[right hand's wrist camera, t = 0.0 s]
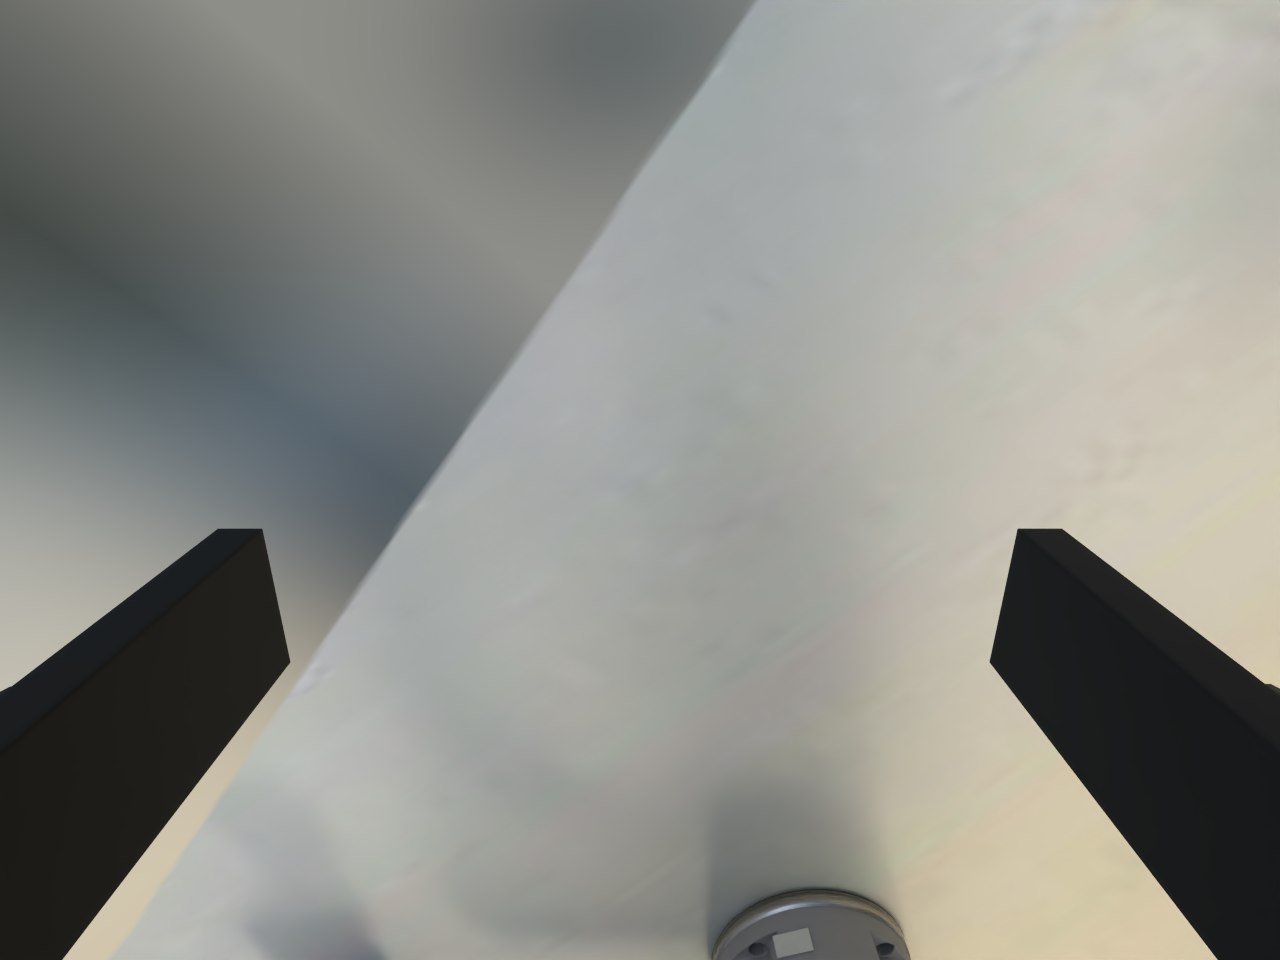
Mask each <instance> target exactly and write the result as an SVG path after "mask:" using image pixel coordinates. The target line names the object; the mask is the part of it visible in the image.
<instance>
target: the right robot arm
mask: <svg viewBox="0 0 1280 960" xmlns="http://www.w3.org/2000/svg"><path fill="white" fill-rule="evenodd" d="M289 663H290V658H289V653H288V649H287V644H286V639H285V635H284V630H283V625H282V620H281V616H280V611H279V606H278V601H277V597H276V592H275V587H274V582H273V578H272V573H271V568H270V564H269V559H268V554H267V549H266V544H265V540H264V535H263V530H262V529H217V530H216V531H215V532H213V533H212V534H211V535H209V536H208V537H207V538H205V539H204V540H203V541H201V542H200V543H199V544H198V545H196V546H195V547H194V548H192V549H191V550H190V551H188V552H187V553H186V554H184V555H183V556H182V557H181V558H179V559H178V560H177V561H175V562H174V563H173V564H171V565H170V566H169V567H168V568H166V569H165V570H164V571H162V572H161V573H160V574H158V575H157V576H156V577H154V578H153V579H152V580H150V581H149V582H148V583H147V584H145V585H144V586H143V587H141V588H140V589H139V590H137V591H136V592H135V593H133V594H132V595H131V596H130V597H128V598H127V599H126V600H124V601H123V602H122V603H120V604H119V605H118V606H117V607H115V608H114V609H113V610H111V611H110V612H109V613H107V614H106V615H105V616H103V617H102V618H101V619H99V620H98V621H97V622H96V623H94V624H93V625H92V626H90V627H89V628H88V629H86V630H85V631H84V632H83V633H81V634H80V635H79V636H77V637H76V638H75V639H73V640H72V641H71V642H69V643H68V644H67V645H65V646H64V647H63V648H62V649H60V650H59V651H58V652H56V653H55V654H54V655H52V656H51V657H50V658H48V659H47V660H46V661H45V662H43V663H42V664H41V665H39V666H38V667H37V668H35V669H34V670H33V671H31V672H30V673H29V674H28V675H26V676H25V677H24V678H22V679H21V680H20V681H18V682H17V683H16V684H14V685H13V686H12V687H9V688H7V689H5V690H3V691H1V692H0V960H62V959H63V958H64V957H65V955H66V954H67V953H68V951H69V950H70V949H71V948H72V946H73V945H74V944H75V942H76V941H77V940H78V938H79V937H80V936H81V935H82V933H83V932H84V931H85V929H86V928H87V927H88V925H89V924H90V923H91V921H92V920H93V919H94V918H95V916H96V915H97V914H98V912H99V911H100V910H101V908H102V907H103V906H104V905H105V903H106V902H107V901H108V899H109V898H110V897H111V895H112V894H113V893H114V892H115V890H116V889H117V888H118V886H119V885H120V884H121V882H122V881H123V880H124V878H125V877H126V876H127V875H128V873H129V872H130V871H131V869H132V868H133V867H134V865H135V864H136V863H137V862H138V860H139V859H140V858H141V856H142V855H143V854H144V852H145V851H146V850H147V848H148V847H149V846H150V844H151V843H152V842H153V841H154V839H155V838H156V837H157V835H158V834H159V833H160V831H161V830H162V829H163V828H164V826H165V825H166V824H167V822H168V821H169V820H170V818H171V817H172V816H173V815H174V813H175V812H176V811H177V809H178V808H179V807H180V805H181V804H182V803H183V802H184V800H185V799H186V798H187V796H188V795H189V794H190V792H191V791H192V790H193V788H194V787H195V786H196V784H197V783H198V782H199V781H200V779H201V778H202V777H203V775H204V774H205V773H206V772H207V770H208V769H209V768H210V766H211V765H212V764H213V762H214V761H215V760H216V758H217V757H218V756H219V755H220V753H221V752H222V751H223V749H224V748H225V747H226V745H227V744H228V743H229V742H230V740H231V739H232V738H233V736H234V735H235V734H236V732H237V731H238V730H239V728H240V727H241V726H242V725H243V723H244V722H245V721H246V719H247V718H248V717H249V715H250V714H251V713H252V711H253V710H254V709H255V708H256V706H257V705H258V704H259V702H260V701H261V700H262V698H263V697H264V696H265V694H266V693H267V692H268V691H269V689H270V688H271V687H272V685H273V684H274V683H275V681H276V680H277V679H278V678H279V676H280V675H281V674H282V672H283V671H284V670H285V668H286V667H287V666H288V665H289ZM990 663H991V665H992V666H993V667H994V668H995V670H996V671H997V672H998V674H999V675H1000V676H1001V678H1002V679H1003V680H1004V682H1005V683H1006V684H1007V685H1008V687H1009V688H1010V689H1011V691H1012V692H1013V693H1014V695H1015V696H1016V697H1017V698H1018V700H1019V701H1020V702H1021V704H1022V705H1023V706H1024V708H1025V709H1026V710H1027V712H1028V713H1029V714H1030V715H1031V717H1032V718H1033V719H1034V721H1035V722H1036V723H1037V725H1038V726H1039V727H1040V728H1041V730H1042V731H1043V732H1044V734H1045V735H1046V736H1047V738H1048V739H1049V740H1050V742H1051V743H1052V744H1053V745H1054V747H1055V748H1056V749H1057V751H1058V752H1059V753H1060V755H1061V756H1062V757H1063V758H1064V760H1065V761H1066V762H1067V764H1068V765H1069V766H1070V768H1071V769H1072V770H1073V772H1074V773H1075V774H1076V775H1077V777H1078V778H1079V779H1080V781H1081V782H1082V783H1083V785H1084V786H1085V787H1086V788H1087V790H1088V791H1089V792H1090V794H1091V795H1092V796H1093V798H1094V799H1095V800H1096V802H1097V803H1098V804H1099V805H1100V807H1101V808H1102V809H1103V811H1104V812H1105V813H1106V815H1107V816H1108V817H1109V818H1110V820H1111V821H1112V822H1113V824H1114V825H1115V826H1116V828H1117V829H1118V830H1119V832H1120V833H1121V834H1122V835H1123V837H1124V838H1125V839H1126V841H1127V842H1128V843H1129V845H1130V846H1131V847H1132V848H1133V850H1134V851H1135V852H1136V854H1137V855H1138V856H1139V858H1140V859H1141V860H1142V862H1143V863H1144V864H1145V865H1146V867H1147V868H1148V869H1149V871H1150V872H1151V873H1152V875H1153V876H1154V877H1155V878H1156V880H1157V881H1158V882H1159V884H1160V885H1161V886H1162V888H1163V889H1164V890H1165V892H1166V893H1167V894H1168V895H1169V897H1170V898H1171V899H1172V901H1173V902H1174V903H1175V905H1176V906H1177V907H1178V908H1179V910H1180V911H1181V912H1182V914H1183V915H1184V916H1185V918H1186V919H1187V920H1188V922H1189V923H1190V924H1191V925H1192V927H1193V928H1194V929H1195V931H1196V932H1197V933H1198V935H1199V936H1200V937H1201V938H1202V940H1203V941H1204V942H1205V944H1206V945H1207V946H1208V948H1209V949H1210V950H1211V952H1212V953H1213V954H1214V955H1215V957H1216V958H1217V959H1218V960H1280V689H1279V688H1277V687H1275V686H1274V685H1272V684H1264V683H1263V682H1262V681H1260V680H1259V679H1258V678H1256V677H1255V676H1254V675H1252V674H1251V673H1250V672H1249V671H1247V670H1246V669H1245V668H1243V667H1242V666H1241V665H1239V664H1238V663H1237V662H1235V661H1234V660H1233V659H1232V658H1230V657H1229V656H1228V655H1226V654H1225V653H1224V652H1222V651H1221V650H1220V649H1218V648H1217V647H1216V646H1215V645H1213V644H1212V643H1211V642H1209V641H1208V640H1207V639H1205V638H1204V637H1203V636H1201V635H1200V634H1199V633H1198V632H1196V631H1195V630H1194V629H1192V628H1191V627H1190V626H1188V625H1187V624H1186V623H1184V622H1183V621H1182V620H1181V619H1179V618H1178V617H1177V616H1175V615H1174V614H1173V613H1171V612H1170V611H1169V610H1167V609H1166V608H1165V607H1164V606H1162V605H1161V604H1160V603H1158V602H1157V601H1156V600H1154V599H1153V598H1152V597H1150V596H1149V595H1148V594H1147V593H1145V592H1144V591H1143V590H1141V589H1140V588H1139V587H1137V586H1136V585H1135V584H1133V583H1132V582H1131V581H1130V580H1128V579H1127V578H1126V577H1124V576H1123V575H1122V574H1120V573H1119V572H1118V571H1116V570H1115V569H1114V568H1113V567H1111V566H1110V565H1109V564H1107V563H1106V562H1105V561H1103V560H1102V559H1101V558H1099V557H1098V556H1097V555H1096V554H1094V553H1093V552H1092V551H1090V550H1089V549H1088V548H1086V547H1085V546H1084V545H1082V544H1081V543H1080V542H1079V541H1077V540H1076V539H1075V538H1073V537H1072V536H1071V535H1069V534H1068V533H1067V532H1065V531H1064V530H1063V529H1018V530H1017V535H1016V540H1015V544H1014V549H1013V554H1012V559H1011V563H1010V568H1009V573H1008V578H1007V582H1006V587H1005V592H1004V597H1003V601H1002V606H1001V611H1000V616H999V620H998V625H997V630H996V634H995V639H994V644H993V649H992V653H991V658H990ZM712 960H911V959H910V955H909V951H908V949H907V946H906V943H905V940H904V937H903V935H902V932H901V930H900V928H899V927H898V925H897V924H896V922H895V921H894V920H893V918H892V917H891V916H890V915H889V914H888V913H886V912H885V911H884V910H883V909H881V908H880V907H879V906H877V905H875V904H874V903H872V902H870V901H868V900H866V899H863V898H861V897H858V896H855V895H851V894H848V893H843V892H838V891H829V890H805V891H796V892H790V893H785V894H781V895H778V896H775V897H772V898H769V899H766V900H764V901H761V902H759V903H757V904H755V905H753V906H751V907H750V908H748V909H746V910H745V911H743V912H742V913H741V914H739V915H738V916H737V917H736V918H734V919H733V920H732V921H731V922H730V923H729V924H728V925H727V926H726V928H725V929H724V930H723V932H722V933H721V935H720V936H719V938H718V940H717V942H716V945H715V947H714V951H713V956H712Z"/></svg>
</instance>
